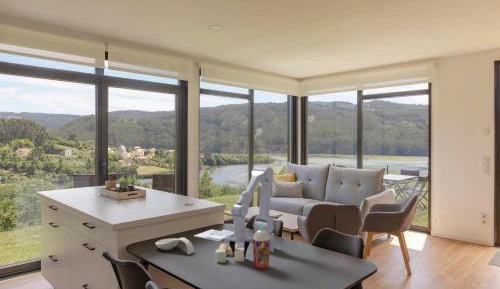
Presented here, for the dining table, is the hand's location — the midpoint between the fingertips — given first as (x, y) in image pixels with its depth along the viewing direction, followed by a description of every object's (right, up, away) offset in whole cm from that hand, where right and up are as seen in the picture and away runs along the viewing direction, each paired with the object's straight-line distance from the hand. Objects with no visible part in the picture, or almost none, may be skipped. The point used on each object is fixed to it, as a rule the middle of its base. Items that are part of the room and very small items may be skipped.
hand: (239, 256), depth 167 cm
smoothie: (+10, -2, -10) cm, 14 cm away
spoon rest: (-35, -2, +15) cm, 38 cm away
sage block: (-9, -2, -1) cm, 9 cm away
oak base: (-6, -1, +11) cm, 12 cm away
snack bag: (-16, -1, +42) cm, 45 cm away
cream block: (0, -1, 0) cm, 1 cm away
